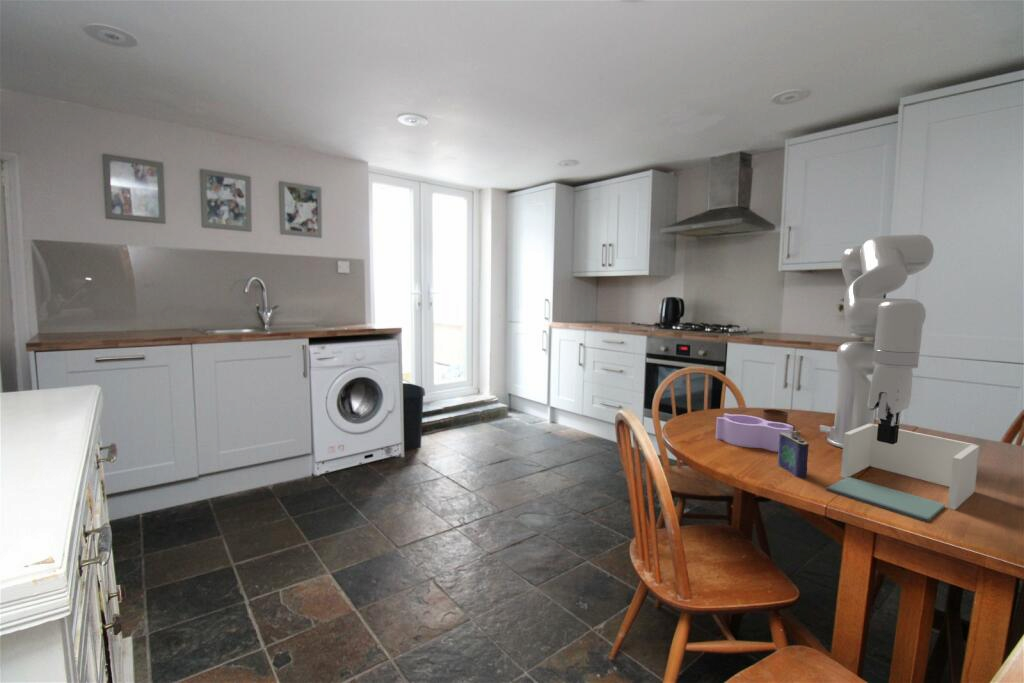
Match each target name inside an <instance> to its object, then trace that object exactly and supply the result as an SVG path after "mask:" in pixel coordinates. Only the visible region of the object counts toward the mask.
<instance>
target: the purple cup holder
mask: <svg viewBox="0 0 1024 683" xmlns="http://www.w3.org/2000/svg"><path fill="white" fill-rule="evenodd" d="M715 428H716V429H715V439H716V440H722V441H724V442H725V443H727V444H730V445H733V446H738V447H742V448H743V447H744V448H756V449H757V448H758V449H764V450H767V451H770V452H776V453H778V450H779V433H788V434H792V433H791V432H790V431H794V430H793V426H791V425H789V424H785V423H780V422H772V421H767V420H764V419H763V417H762V418H761V417H758V416H754V415H746V414H730V413H725V412H724V413H723V417H722V416H721V417H720V416H717V417H716V426H715Z"/></svg>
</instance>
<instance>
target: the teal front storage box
mask: <svg viewBox="0 0 1024 683" xmlns="http://www.w3.org/2000/svg"><path fill="white" fill-rule="evenodd" d="M877 432H878V424H875V423H873V424H871V423H869V424H866V425H864V426H861V427H859V428H856V429H854V430H851V431H849V432H846V433H844V442H843V448H842V453H841V454H842V456H841V464H840V465H841V466H840V476H839V477H840V478H843V479H844V478H846V477H852V476H853V475H855V474H857V473H859V472H861V471H863V470H865V469H866V468H869V467H872V468H876V469H879V470H884V471H887V472H890V473H895V474H898V475H902V476H907V477H910V478H914V479H917V480H921V481H926V482H929V483H933V484H938V485H940V486H941V485H942V486H945V487H949V489H948V498H947V505H946V506H947V509H950V510H954V511H955V510H956V509H957V508H959V507H960V506H961V505H962V504H963V503H964V502H965V501H966V500H967V499H968V498H970V496H972V495H973V494H974V493H975V490H976V481H977V472H978V464H979V459H980V458H979V457H980V450H981V449H980V448H981V444H977V443H970V442H966V441H962V440H961V441H960V440H956V439H951V438H946V437H941V436H935V435H930V434H926V433H921V432H916V431H910V430H905V429H901V428H899V431H898V441H897V443H895V444H889V443H884V442H880V441H877Z"/></svg>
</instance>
